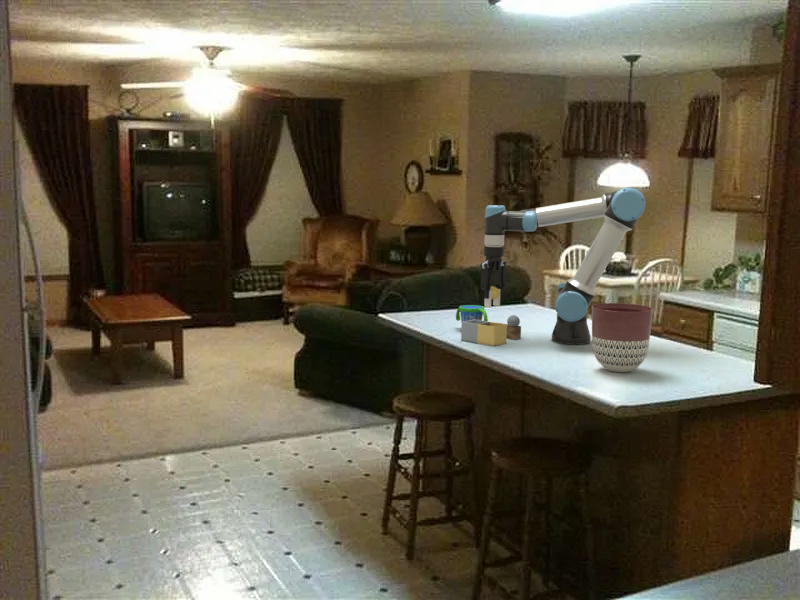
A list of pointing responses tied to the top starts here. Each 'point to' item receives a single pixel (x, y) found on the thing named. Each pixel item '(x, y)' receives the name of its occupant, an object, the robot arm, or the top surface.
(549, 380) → the top surface
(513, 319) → the slate ball
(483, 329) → the tube block
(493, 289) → the ochre ball
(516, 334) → the rack
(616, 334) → the planter
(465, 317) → the snack cup
